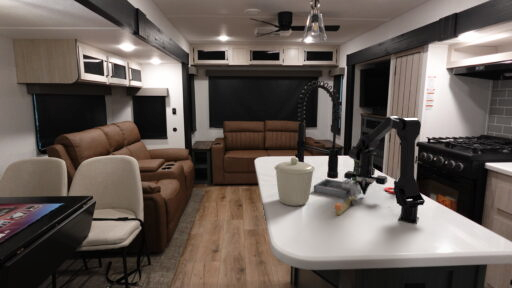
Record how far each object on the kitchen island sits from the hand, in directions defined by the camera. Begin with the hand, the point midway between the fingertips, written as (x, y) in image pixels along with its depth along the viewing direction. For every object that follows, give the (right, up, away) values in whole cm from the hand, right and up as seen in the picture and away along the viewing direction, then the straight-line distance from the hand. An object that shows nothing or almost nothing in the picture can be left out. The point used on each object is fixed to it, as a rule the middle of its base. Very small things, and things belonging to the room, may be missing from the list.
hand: (364, 194), depth 138 cm
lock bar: (-13, -4, -14) cm, 19 cm away
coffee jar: (+6, +2, +20) cm, 21 cm away
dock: (-12, -1, +4) cm, 12 cm away
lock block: (-5, -1, +4) cm, 6 cm away
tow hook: (+18, 0, +9) cm, 20 cm away
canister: (-35, -3, -6) cm, 36 cm away
